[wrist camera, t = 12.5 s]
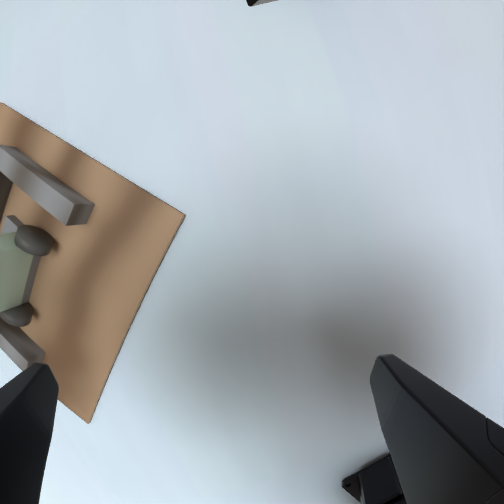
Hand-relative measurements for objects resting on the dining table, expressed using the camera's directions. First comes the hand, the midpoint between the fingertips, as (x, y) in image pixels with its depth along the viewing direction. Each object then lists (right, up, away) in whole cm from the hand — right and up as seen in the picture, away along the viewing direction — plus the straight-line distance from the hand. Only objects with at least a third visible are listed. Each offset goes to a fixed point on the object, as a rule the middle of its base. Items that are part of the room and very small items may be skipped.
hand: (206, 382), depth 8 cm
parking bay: (-17, +3, +14) cm, 22 cm away
